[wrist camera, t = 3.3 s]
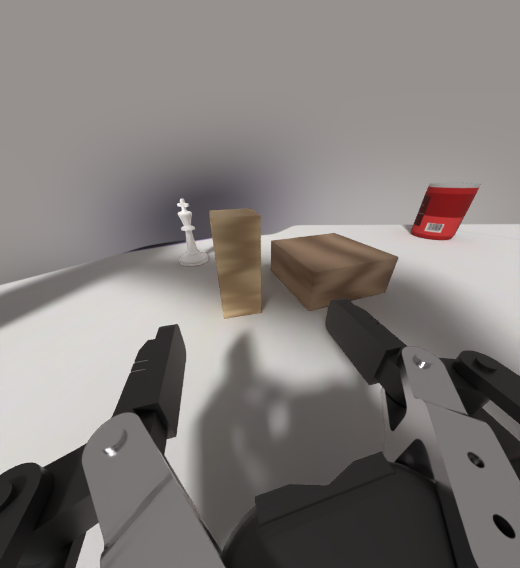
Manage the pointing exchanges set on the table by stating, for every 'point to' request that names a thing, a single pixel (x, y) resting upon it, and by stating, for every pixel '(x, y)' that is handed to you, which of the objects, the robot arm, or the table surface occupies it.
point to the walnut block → (330, 268)
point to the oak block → (238, 260)
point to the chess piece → (190, 240)
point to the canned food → (443, 209)
